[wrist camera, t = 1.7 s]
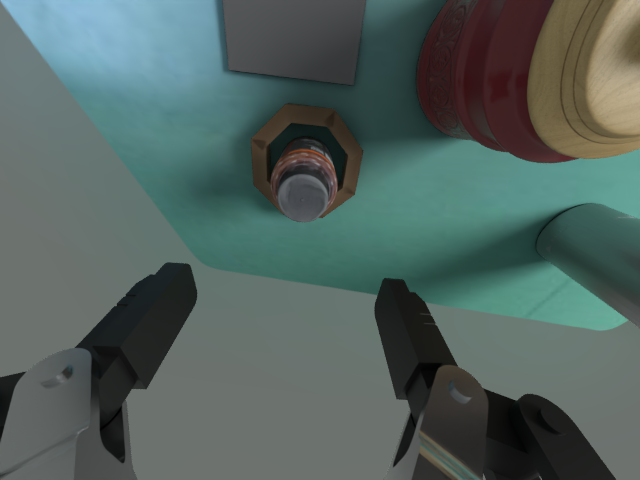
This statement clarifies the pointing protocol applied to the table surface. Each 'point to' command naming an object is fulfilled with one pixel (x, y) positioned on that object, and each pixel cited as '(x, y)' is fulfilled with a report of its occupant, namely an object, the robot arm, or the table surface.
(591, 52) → the canister
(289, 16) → the coaster
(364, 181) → the table surface
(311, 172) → the supplement bottle
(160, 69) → the table surface
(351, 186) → the collar
